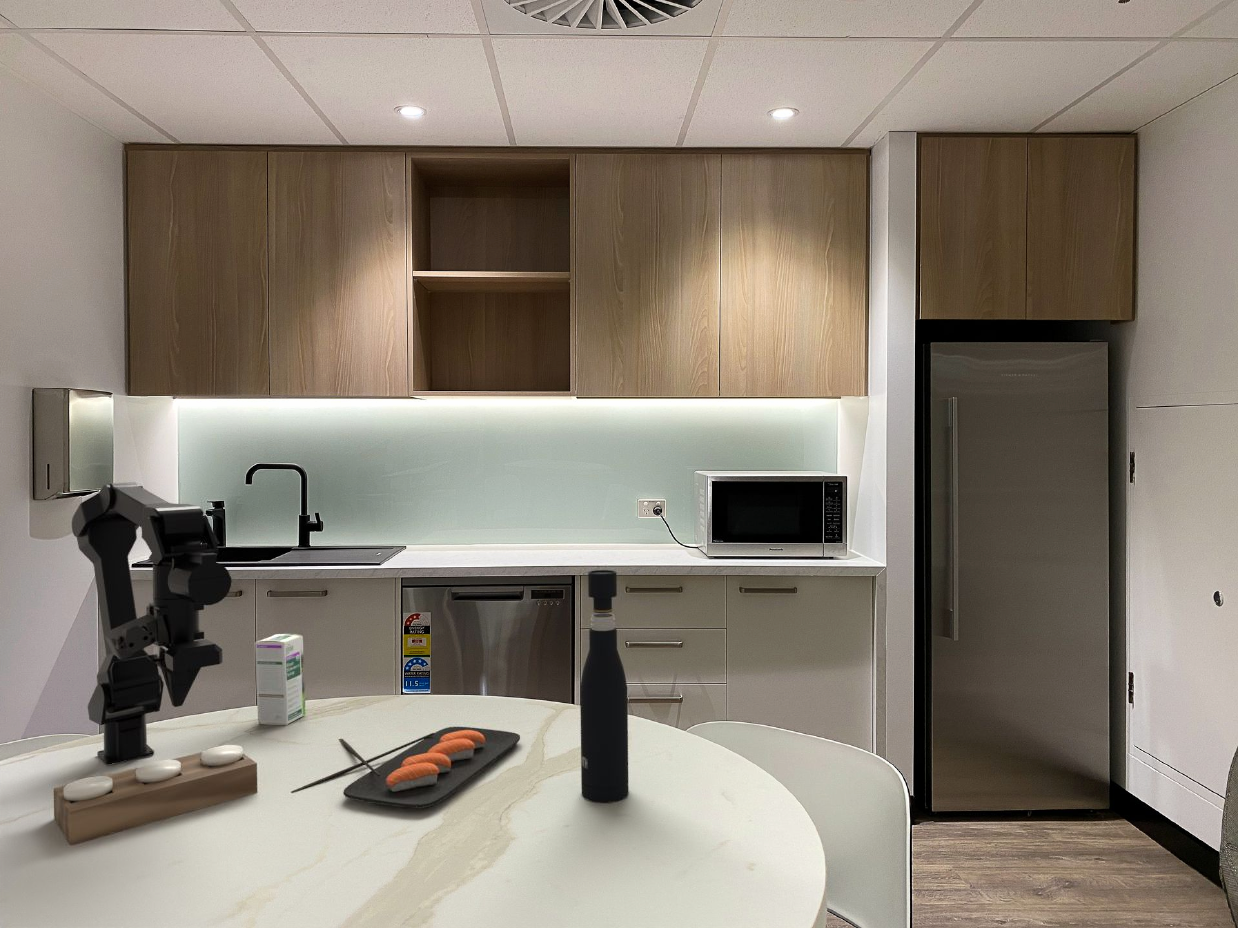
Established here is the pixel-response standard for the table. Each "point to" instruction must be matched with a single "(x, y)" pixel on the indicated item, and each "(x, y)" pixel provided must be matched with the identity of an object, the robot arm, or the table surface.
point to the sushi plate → (426, 767)
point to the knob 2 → (221, 755)
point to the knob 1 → (88, 788)
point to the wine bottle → (603, 701)
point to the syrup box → (280, 679)
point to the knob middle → (158, 771)
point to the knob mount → (153, 797)
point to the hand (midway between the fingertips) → (177, 705)
